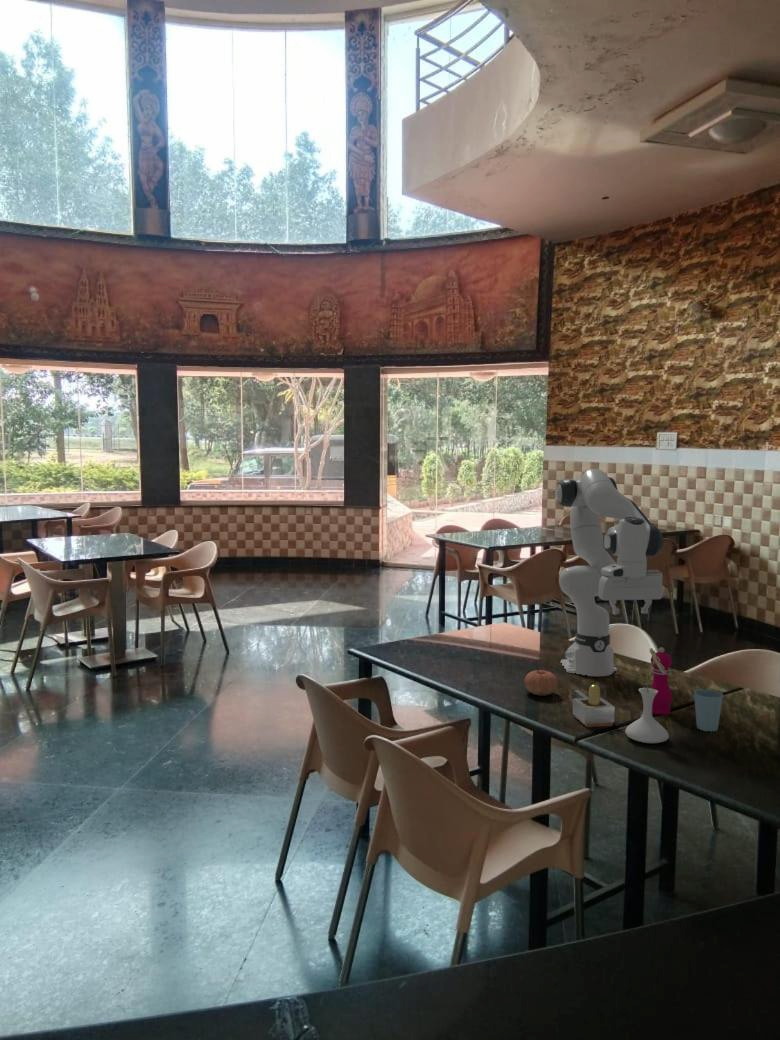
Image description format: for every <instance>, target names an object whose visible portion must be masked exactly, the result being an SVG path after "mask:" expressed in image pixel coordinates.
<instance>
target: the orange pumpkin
mask: <svg viewBox="0 0 780 1040" xmlns="http://www.w3.org/2000/svg"><path fill="white" fill-rule="evenodd" d="M523 682H524V687H525V688H526V690H527V691H528V692H529V693H530V694H533V695H535V696H539V697H541V696H542V697H543V696H544V697H545V696H548V695H551V694H553V693H554V692H556V690H557V689H558V686H559V685H558V684H559V683H558V682H559V681H558V678H557V677H556V675H555V674H554V673H553V672H551V671H548V670H543V669H538V670H537V669H536V670H532V671H530V672H528V673H527V674H526V675H525V677H524V680H523Z"/></svg>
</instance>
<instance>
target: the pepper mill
mask: <svg viewBox="0 0 780 1040" xmlns="http://www.w3.org/2000/svg"><path fill="white" fill-rule="evenodd" d="M655 653H656V656H657V657H658V658H659V659H660V663H661V664H662V665H663V667H664V668H665V669H664V670H665V671H666V673H665V674H663V673H662V672H661V670H660V669H659V668H658V666H657V664H653V666H652V667H651V672H652V674H653V678H652V681H653V683H651V684H650V687H649V688H651V689H655V690H657V691H658V693H657V694H656V695H655V697H654V699H653V703H652V714H654V715H659V716H660V715H663V716H665V715H666V716H667V715H669V714H671V703H672V702H673V693H672V690H671V688H670V685H669V681H668V680H669V679H668V676H669V675H670V667H671V666H672V660H673V659H672V657H671V656H670V655H669V653H667V652H665V648H664V647H662V646H661V647H659V648H658V651H657V652H656V651H655ZM653 660H654V659H653V657H652V656H651V658H650V663H651V665H652V663H653Z"/></svg>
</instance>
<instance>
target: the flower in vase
mask: <svg viewBox="0 0 780 1040" xmlns="http://www.w3.org/2000/svg"><path fill="white" fill-rule="evenodd" d="M649 653H650V655H651V657H653V659H654V660H653V663H652V664H651V665H650V666H649V669H648V670H647V673H645V677H646V683H644V684H643V685H644V686H645V685H646V687H642V688H641V687H640V688H638V692H639V693H640V694H641V697H642V705H643V709H642V715H641V717H640V718H638V719H637V720H635V721H633V722H632V723H629V725H628V726H627V727H626V729H625V734H626V736H627V737H628V738H630V739H632V740H634V741H636V742H639V743H640V742H641V743H644V744H659V743H664V742H666V741H667V740H668V739H669V737H670V736H669V732H668V731H667V729H665V727H663V725H661V724H660V723H659V722H658V721H657V720H656V719H655V718H654V717H653V713H652V703H653V699H654V697H655V695H656V694H657V693H658V691H657V690H655V689H651V688H650V687H649V685H652V683H653V679H652V680H651V678H650V677H649V674H650V671H651V670H652V668H653V664H657V666H658V668H659V669H660V670H661V672H662V673H663V674H665V673H666V671H665V670H664V669H665V668H664V667H663V665H662V664H661V663H660V659H659V658H658V657H657V656H656V651H655V650H654V649H653V647H650V648H649Z"/></svg>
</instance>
